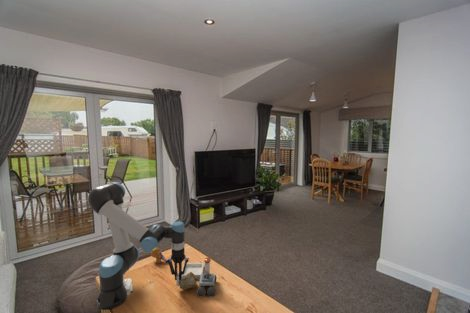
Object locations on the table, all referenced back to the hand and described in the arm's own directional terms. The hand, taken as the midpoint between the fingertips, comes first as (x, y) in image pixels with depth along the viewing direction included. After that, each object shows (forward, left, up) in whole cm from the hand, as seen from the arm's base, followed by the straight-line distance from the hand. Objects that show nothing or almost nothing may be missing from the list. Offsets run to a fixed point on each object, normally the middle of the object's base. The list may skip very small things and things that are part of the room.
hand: (178, 284), depth 136 cm
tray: (+7, +16, -3) cm, 18 cm away
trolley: (+18, 0, -3) cm, 18 cm away
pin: (+18, 0, +4) cm, 18 cm away
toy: (-20, +30, -3) cm, 36 cm away
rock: (+6, +1, -3) cm, 7 cm away
